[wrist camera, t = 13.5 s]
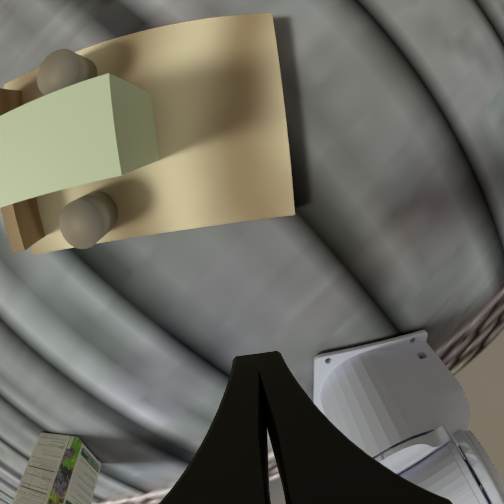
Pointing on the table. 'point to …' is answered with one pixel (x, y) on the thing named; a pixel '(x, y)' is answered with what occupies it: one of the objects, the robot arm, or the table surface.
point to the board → (171, 135)
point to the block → (75, 138)
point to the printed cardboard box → (58, 472)
